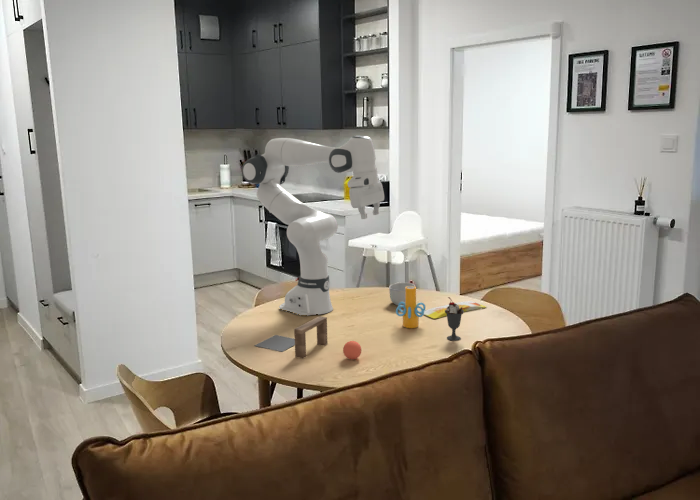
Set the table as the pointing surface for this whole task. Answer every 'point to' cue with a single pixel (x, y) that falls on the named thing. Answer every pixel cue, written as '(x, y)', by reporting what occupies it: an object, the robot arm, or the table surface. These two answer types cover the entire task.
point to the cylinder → (410, 308)
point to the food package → (440, 311)
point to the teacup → (398, 292)
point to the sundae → (453, 319)
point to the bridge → (301, 337)
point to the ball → (352, 350)
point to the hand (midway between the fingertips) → (370, 216)
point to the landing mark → (277, 343)
